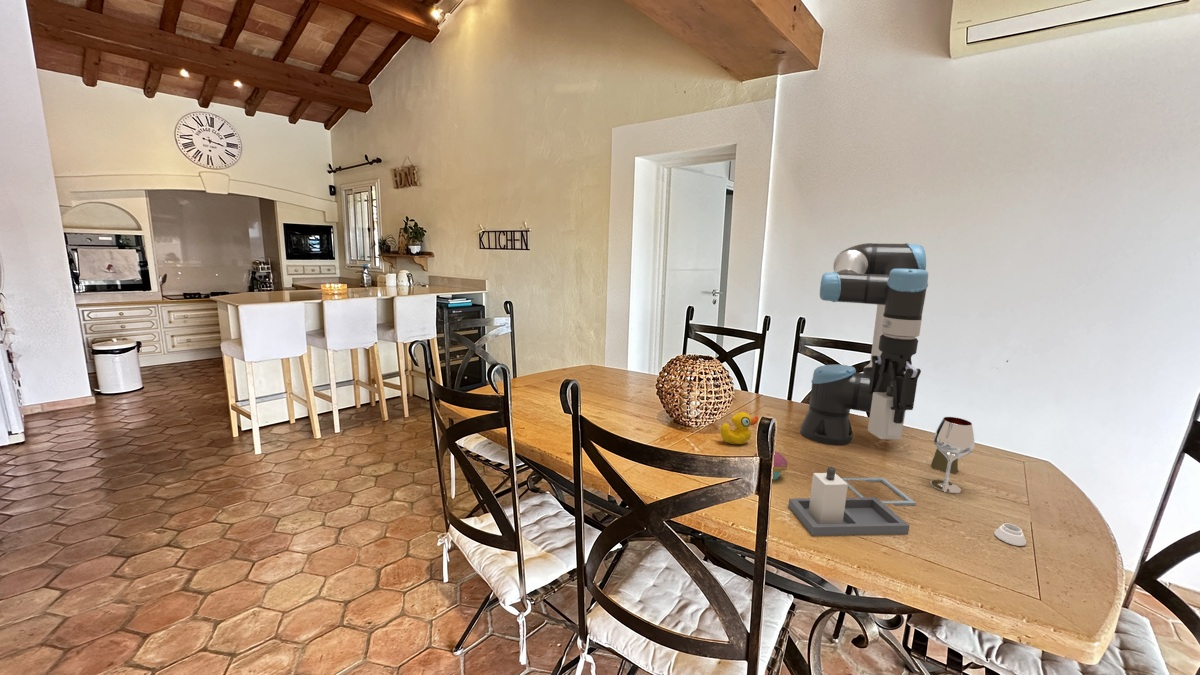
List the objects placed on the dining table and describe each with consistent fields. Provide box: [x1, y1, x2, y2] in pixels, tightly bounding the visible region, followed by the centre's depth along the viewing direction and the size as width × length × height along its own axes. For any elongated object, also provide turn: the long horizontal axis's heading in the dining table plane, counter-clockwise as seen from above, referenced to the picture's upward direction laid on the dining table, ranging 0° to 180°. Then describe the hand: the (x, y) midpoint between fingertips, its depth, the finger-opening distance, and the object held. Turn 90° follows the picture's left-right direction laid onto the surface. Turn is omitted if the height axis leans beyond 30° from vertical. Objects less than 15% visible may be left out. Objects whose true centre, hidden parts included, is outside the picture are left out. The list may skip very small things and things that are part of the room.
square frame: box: [840, 477, 917, 506], centre depth 115 cm, size 12×12×1 cm
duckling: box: [720, 411, 759, 445], centre depth 141 cm, size 11×5×10 cm, turn 93°
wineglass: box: [929, 416, 975, 494], centre depth 116 cm, size 8×8×18 cm
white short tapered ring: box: [994, 523, 1027, 547], centre depth 97 cm, size 5×3×5 cm
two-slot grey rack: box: [788, 496, 910, 537], centre depth 102 cm, size 11×21×2 cm, turn 93°
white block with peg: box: [867, 385, 907, 440], centre depth 110 cm, size 5×5×12 cm
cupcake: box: [753, 450, 788, 481], centre depth 120 cm, size 9×8×12 cm
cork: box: [930, 447, 959, 474], centre depth 127 cm, size 6×6×11 cm
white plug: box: [808, 466, 849, 524], centre depth 101 cm, size 5×5×12 cm
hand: (884, 429), depth 111 cm, fingers closed on white block with peg, 5 cm apart
